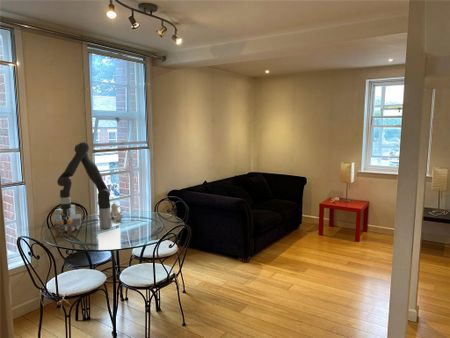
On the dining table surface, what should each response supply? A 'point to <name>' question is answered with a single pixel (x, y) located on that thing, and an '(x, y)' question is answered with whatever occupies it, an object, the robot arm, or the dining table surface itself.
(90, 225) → the dining table surface
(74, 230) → the roller front
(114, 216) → the chinaware
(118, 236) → the dining table surface
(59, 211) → the snack box
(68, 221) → the roller
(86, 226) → the dining table surface
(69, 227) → the deck
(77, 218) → the slab
